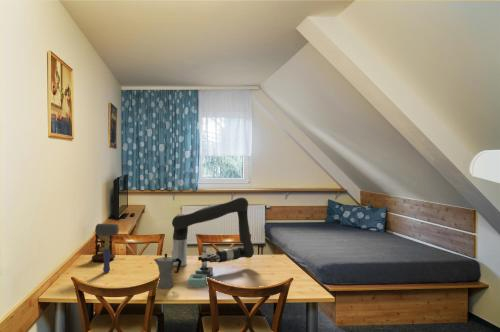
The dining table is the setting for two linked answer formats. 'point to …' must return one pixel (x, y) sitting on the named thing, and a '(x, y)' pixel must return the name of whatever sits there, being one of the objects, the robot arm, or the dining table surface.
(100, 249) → the dark brown lantern
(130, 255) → the dining table surface
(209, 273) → the socket block
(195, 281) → the rack block
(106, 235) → the rubber mallet
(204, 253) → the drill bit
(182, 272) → the dining table surface
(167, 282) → the coffeepot
